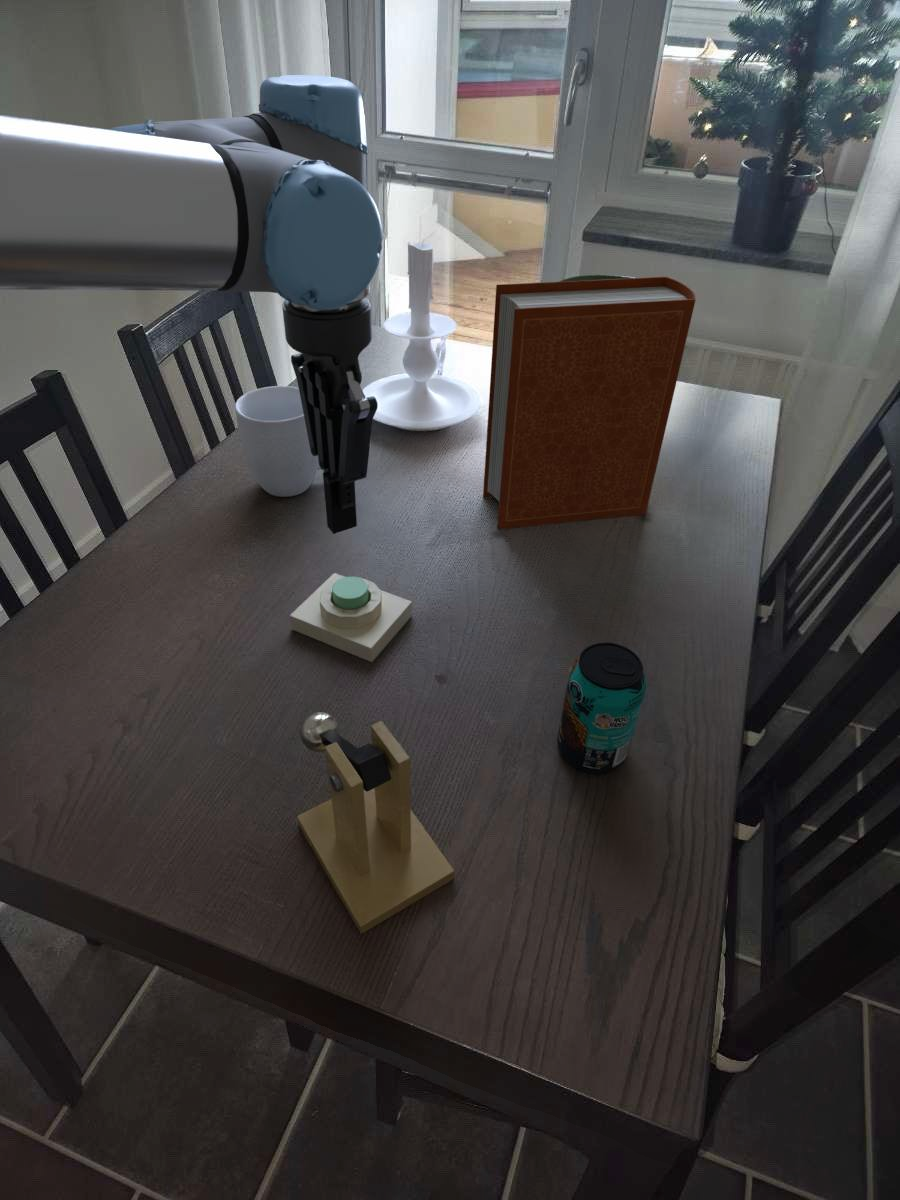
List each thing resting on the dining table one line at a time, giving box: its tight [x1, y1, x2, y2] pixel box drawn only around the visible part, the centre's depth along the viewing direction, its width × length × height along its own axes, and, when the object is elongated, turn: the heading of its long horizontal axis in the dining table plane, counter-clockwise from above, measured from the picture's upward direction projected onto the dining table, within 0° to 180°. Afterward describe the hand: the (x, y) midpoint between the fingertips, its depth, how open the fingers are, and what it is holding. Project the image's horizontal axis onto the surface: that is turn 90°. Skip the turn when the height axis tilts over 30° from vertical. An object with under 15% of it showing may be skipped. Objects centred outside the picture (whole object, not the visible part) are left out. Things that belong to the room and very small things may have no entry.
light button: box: [332, 575, 368, 610], centre depth 86 cm, size 4×4×2 cm
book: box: [482, 276, 697, 530], centre depth 99 cm, size 23×8×30 cm, turn 102°
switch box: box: [289, 572, 413, 663], centre depth 88 cm, size 11×9×4 cm
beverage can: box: [556, 642, 648, 774], centre depth 72 cm, size 7×7×12 cm
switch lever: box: [299, 711, 391, 792], centre depth 64 cm, size 14×4×4 cm
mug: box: [234, 385, 322, 498], centre depth 107 cm, size 15×11×13 cm
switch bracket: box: [296, 720, 455, 935], centre depth 62 cm, size 12×9×14 cm
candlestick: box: [362, 238, 483, 432], centre depth 121 cm, size 21×25×28 cm
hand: (342, 526), depth 80 cm, fingers closed
